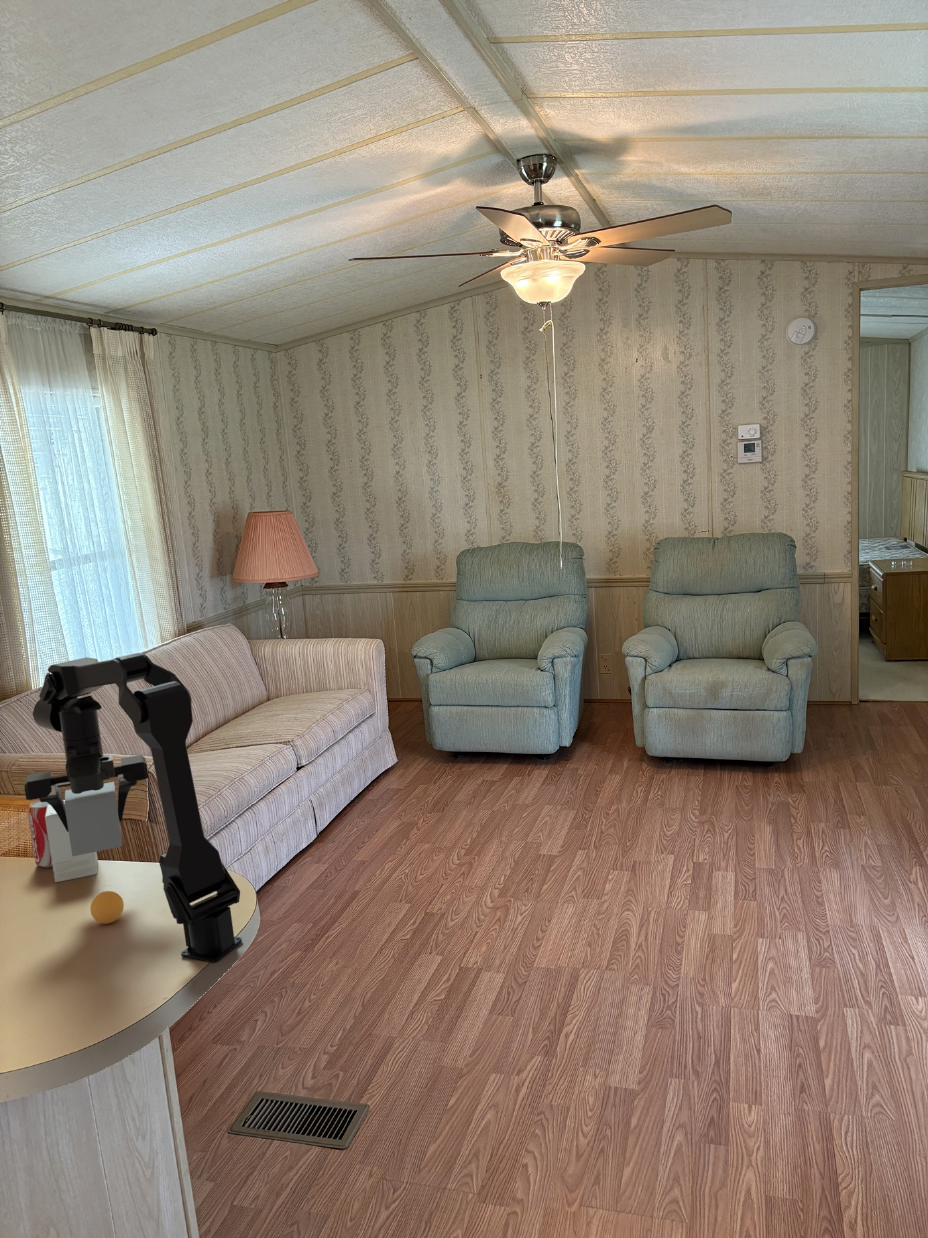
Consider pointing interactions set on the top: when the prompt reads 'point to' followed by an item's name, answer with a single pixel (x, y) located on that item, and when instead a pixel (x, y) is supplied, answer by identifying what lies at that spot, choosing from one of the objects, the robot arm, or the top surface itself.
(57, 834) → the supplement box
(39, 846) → the beverage can
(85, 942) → the top surface
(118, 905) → the ball
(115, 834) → the pale grey box
